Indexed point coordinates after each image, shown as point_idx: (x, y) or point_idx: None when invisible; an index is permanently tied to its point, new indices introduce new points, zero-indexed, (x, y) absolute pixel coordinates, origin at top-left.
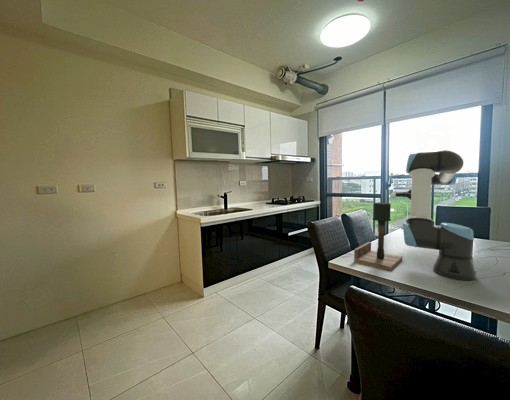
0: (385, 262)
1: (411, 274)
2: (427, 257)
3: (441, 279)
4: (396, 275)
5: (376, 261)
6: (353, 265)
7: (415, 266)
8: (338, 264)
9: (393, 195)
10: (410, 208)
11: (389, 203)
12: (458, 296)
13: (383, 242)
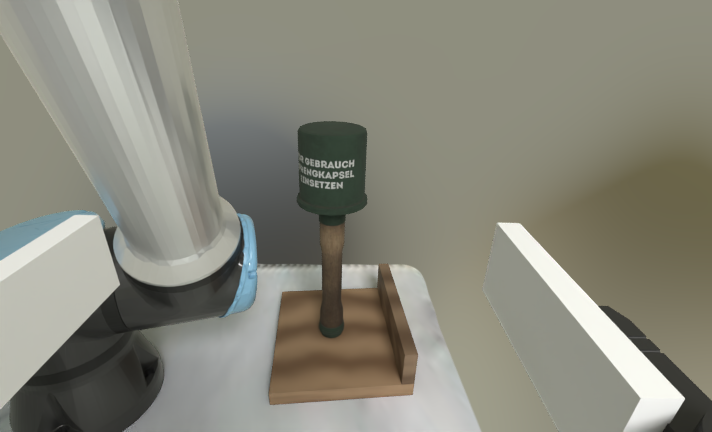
0: (304, 308)
1: None
2: None
3: (158, 328)
4: (265, 288)
5: None
6: (369, 279)
7: (220, 375)
8: (397, 266)
9: (522, 313)
10: (215, 181)
11: (303, 128)
12: None
13: (322, 281)
